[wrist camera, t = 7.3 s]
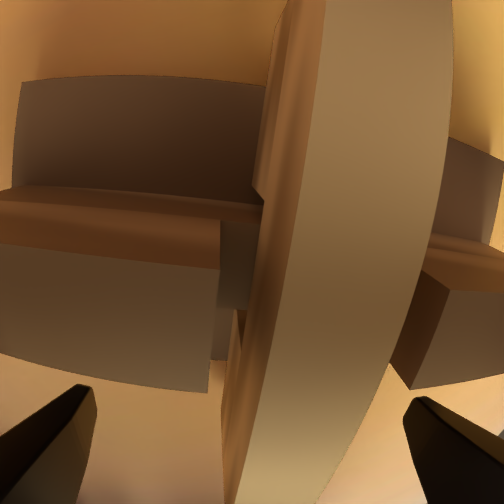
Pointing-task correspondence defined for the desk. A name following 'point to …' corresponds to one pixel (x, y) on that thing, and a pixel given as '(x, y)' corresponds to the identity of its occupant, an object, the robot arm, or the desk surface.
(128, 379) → the joint base
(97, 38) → the desk surface
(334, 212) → the oak plate
